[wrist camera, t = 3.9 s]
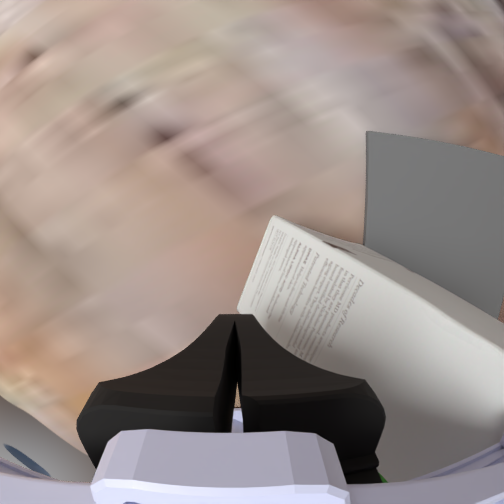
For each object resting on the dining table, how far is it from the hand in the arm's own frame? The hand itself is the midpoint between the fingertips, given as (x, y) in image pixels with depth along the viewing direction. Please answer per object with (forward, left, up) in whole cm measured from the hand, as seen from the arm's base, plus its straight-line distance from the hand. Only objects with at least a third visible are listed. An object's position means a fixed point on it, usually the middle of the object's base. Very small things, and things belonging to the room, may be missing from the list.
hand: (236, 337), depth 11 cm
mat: (0, -16, -9) cm, 19 cm away
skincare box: (0, -4, -8) cm, 8 cm away
